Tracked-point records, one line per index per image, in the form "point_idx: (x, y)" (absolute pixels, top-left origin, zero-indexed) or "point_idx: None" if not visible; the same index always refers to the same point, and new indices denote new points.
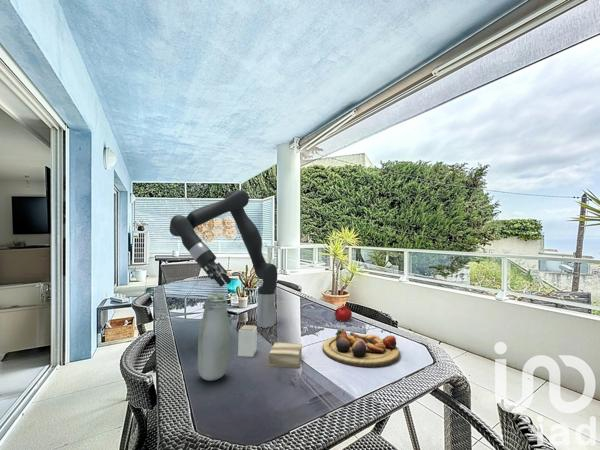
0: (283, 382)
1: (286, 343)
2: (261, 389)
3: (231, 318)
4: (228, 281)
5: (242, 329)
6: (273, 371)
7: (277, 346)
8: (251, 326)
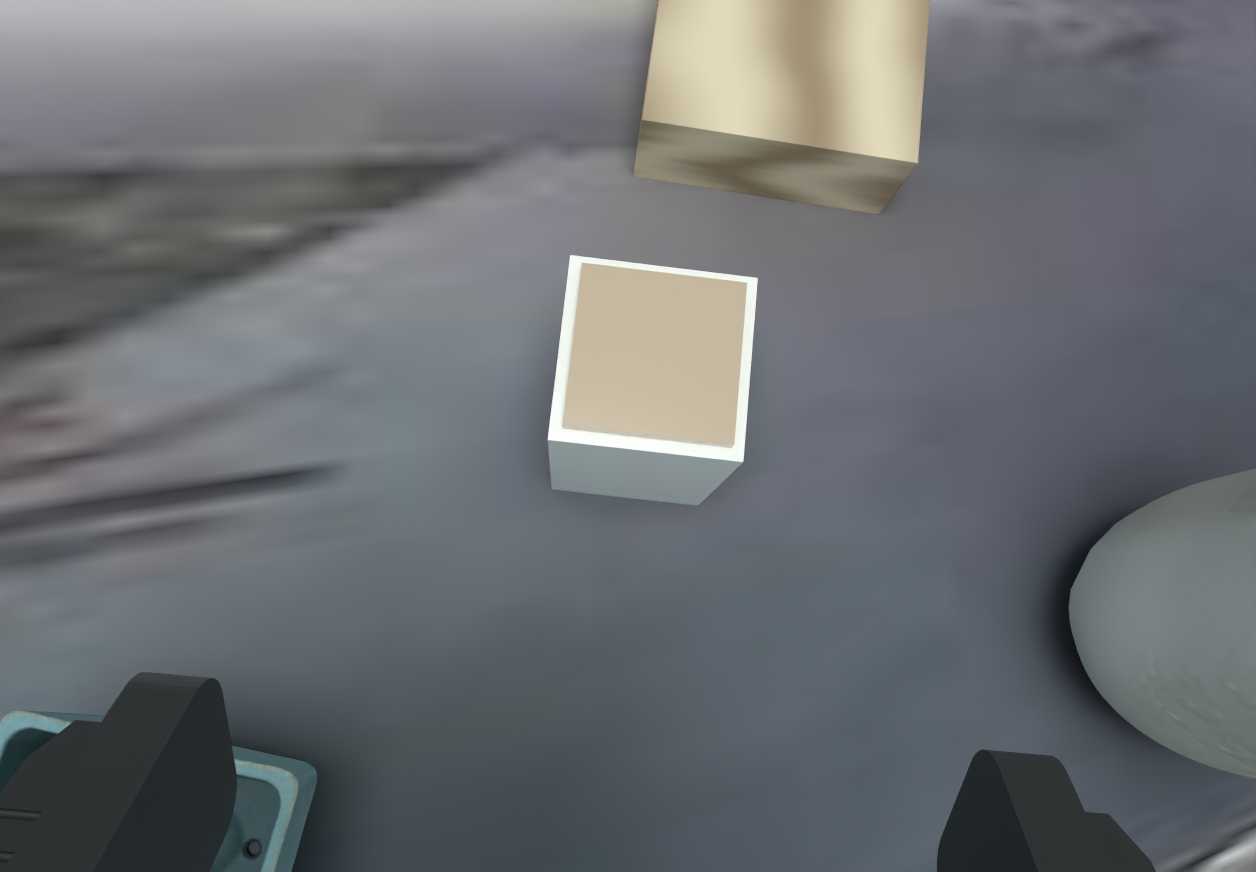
0: (1130, 103)
1: (672, 13)
2: (1243, 242)
3: (28, 713)
4: (197, 791)
5: (735, 413)
6: (975, 174)
7: (754, 95)
8: (616, 314)
